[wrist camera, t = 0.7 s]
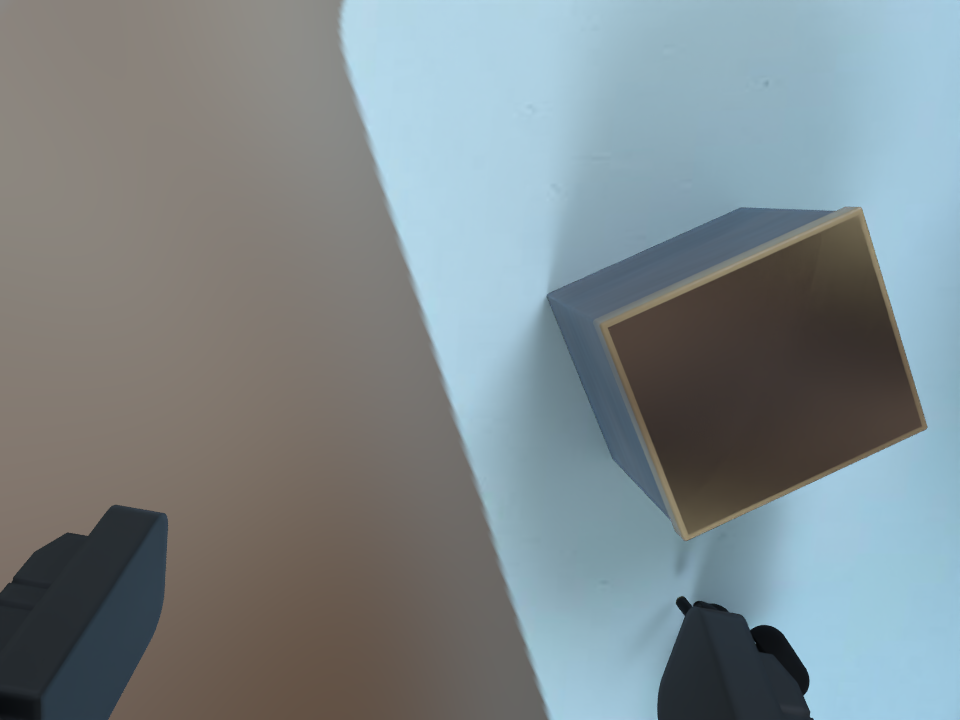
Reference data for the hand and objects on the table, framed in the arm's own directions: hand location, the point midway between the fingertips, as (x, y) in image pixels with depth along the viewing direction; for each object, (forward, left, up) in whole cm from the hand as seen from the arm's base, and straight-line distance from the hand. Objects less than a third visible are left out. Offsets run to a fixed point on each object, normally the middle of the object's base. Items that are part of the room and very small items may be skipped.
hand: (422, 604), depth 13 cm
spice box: (+3, +10, -18) cm, 21 cm away
